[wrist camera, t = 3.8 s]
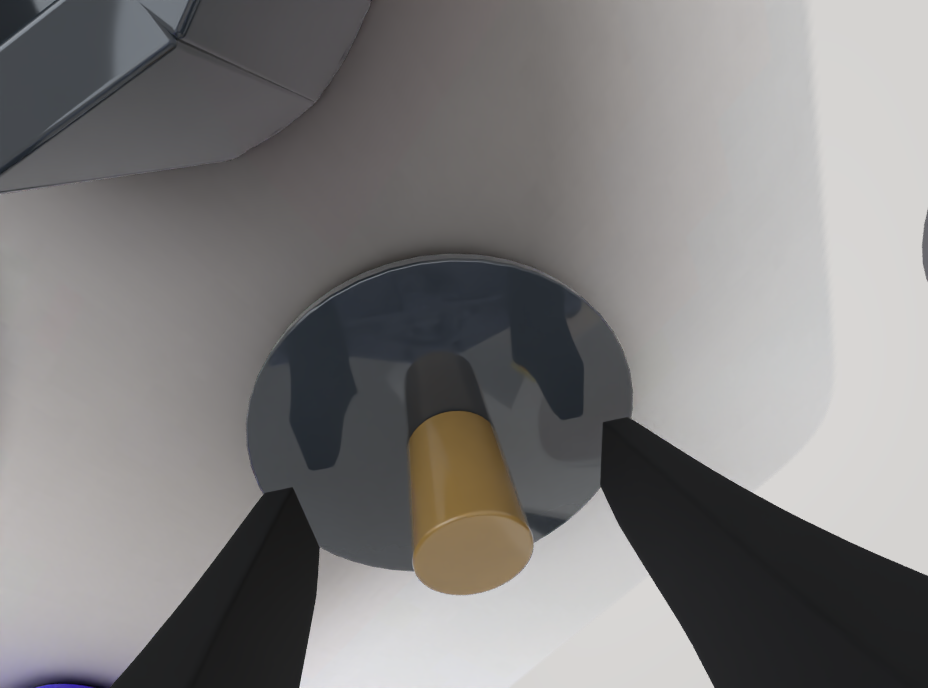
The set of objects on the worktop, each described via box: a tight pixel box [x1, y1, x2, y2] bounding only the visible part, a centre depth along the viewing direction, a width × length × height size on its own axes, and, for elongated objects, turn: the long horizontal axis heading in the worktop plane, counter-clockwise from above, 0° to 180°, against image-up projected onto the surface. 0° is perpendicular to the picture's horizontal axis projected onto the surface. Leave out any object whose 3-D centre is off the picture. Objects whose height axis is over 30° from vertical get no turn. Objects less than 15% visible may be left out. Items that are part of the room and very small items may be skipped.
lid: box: [246, 253, 633, 595], centre depth 10 cm, size 10×10×4 cm
